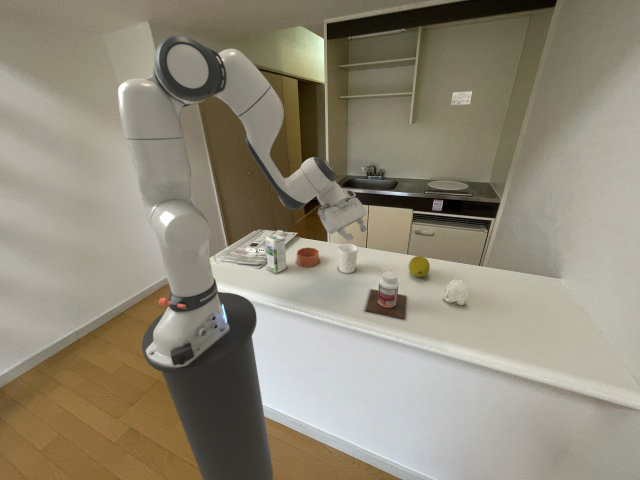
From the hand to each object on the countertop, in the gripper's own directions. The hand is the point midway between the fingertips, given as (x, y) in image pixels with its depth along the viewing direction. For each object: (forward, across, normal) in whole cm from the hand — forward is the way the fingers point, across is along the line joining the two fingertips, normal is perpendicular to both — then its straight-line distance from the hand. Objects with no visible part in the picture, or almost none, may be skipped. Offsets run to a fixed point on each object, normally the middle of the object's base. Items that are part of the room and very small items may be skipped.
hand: (358, 235), depth 84 cm
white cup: (+8, +12, +23) cm, 27 cm away
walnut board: (+24, 0, +7) cm, 25 cm away
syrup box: (-8, -6, +40) cm, 41 cm away
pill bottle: (+24, 0, +7) cm, 25 cm away
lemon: (+26, +24, +5) cm, 36 cm away
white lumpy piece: (+37, +18, -5) cm, 41 cm away
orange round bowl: (-4, +7, +35) cm, 36 cm away
